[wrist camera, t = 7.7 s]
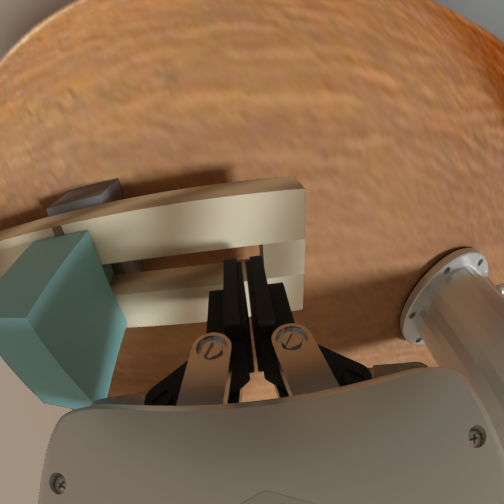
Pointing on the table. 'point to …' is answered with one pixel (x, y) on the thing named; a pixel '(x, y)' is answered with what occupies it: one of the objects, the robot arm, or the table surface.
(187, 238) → the beam
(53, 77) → the table surface
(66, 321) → the block
